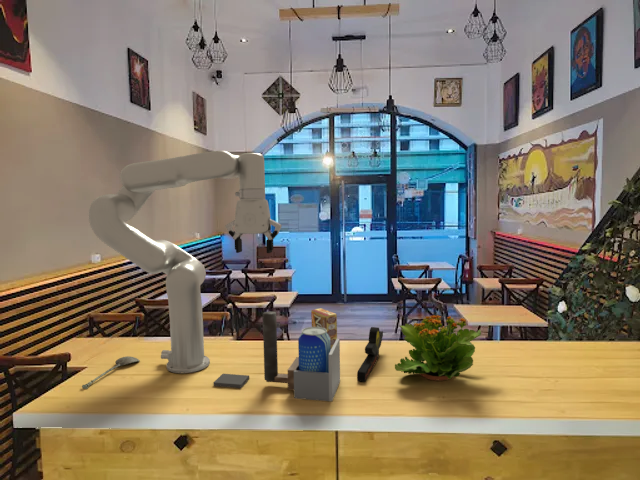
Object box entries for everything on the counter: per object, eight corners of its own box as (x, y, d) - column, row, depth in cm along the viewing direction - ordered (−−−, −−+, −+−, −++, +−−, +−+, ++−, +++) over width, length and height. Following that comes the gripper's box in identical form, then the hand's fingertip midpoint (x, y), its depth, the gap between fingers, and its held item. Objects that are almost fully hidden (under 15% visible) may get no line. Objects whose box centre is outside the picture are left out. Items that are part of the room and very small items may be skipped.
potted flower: (397, 355, 138) (397, 301, 136) (475, 359, 133) (476, 304, 131) (394, 389, 113) (394, 324, 112) (489, 396, 109) (491, 328, 107)
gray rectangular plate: (213, 385, 117) (213, 382, 117) (222, 376, 123) (222, 373, 123) (241, 388, 115) (241, 384, 115) (249, 378, 121) (249, 375, 121)
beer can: (293, 393, 112) (292, 333, 111) (308, 380, 120) (307, 324, 118) (322, 399, 109) (321, 337, 107) (336, 385, 116) (335, 327, 115)
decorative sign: (376, 349, 144) (376, 319, 143) (383, 349, 143) (382, 320, 142) (357, 382, 118) (356, 346, 117) (364, 383, 118) (364, 347, 117)
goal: (294, 398, 109) (293, 352, 108) (305, 378, 121) (304, 336, 120) (332, 401, 107) (331, 354, 106) (340, 380, 119) (339, 338, 118)
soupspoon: (144, 363, 137) (126, 362, 139) (143, 352, 137) (125, 352, 138) (94, 391, 116) (73, 390, 117) (93, 378, 116) (72, 378, 117)
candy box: (338, 362, 133) (337, 313, 131) (327, 365, 130) (326, 315, 129) (322, 353, 140) (321, 307, 138) (311, 356, 138) (310, 309, 136)
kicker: (259, 387, 113) (257, 317, 111) (270, 373, 121) (268, 308, 120) (295, 390, 111) (294, 319, 109) (303, 375, 119) (302, 310, 118)
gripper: (220, 195, 126) (222, 253, 128) (276, 195, 123) (277, 254, 125) (230, 195, 134) (232, 250, 135) (284, 195, 130) (285, 251, 132)
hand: (254, 252), depth 130 cm, fingers open, 9 cm apart
